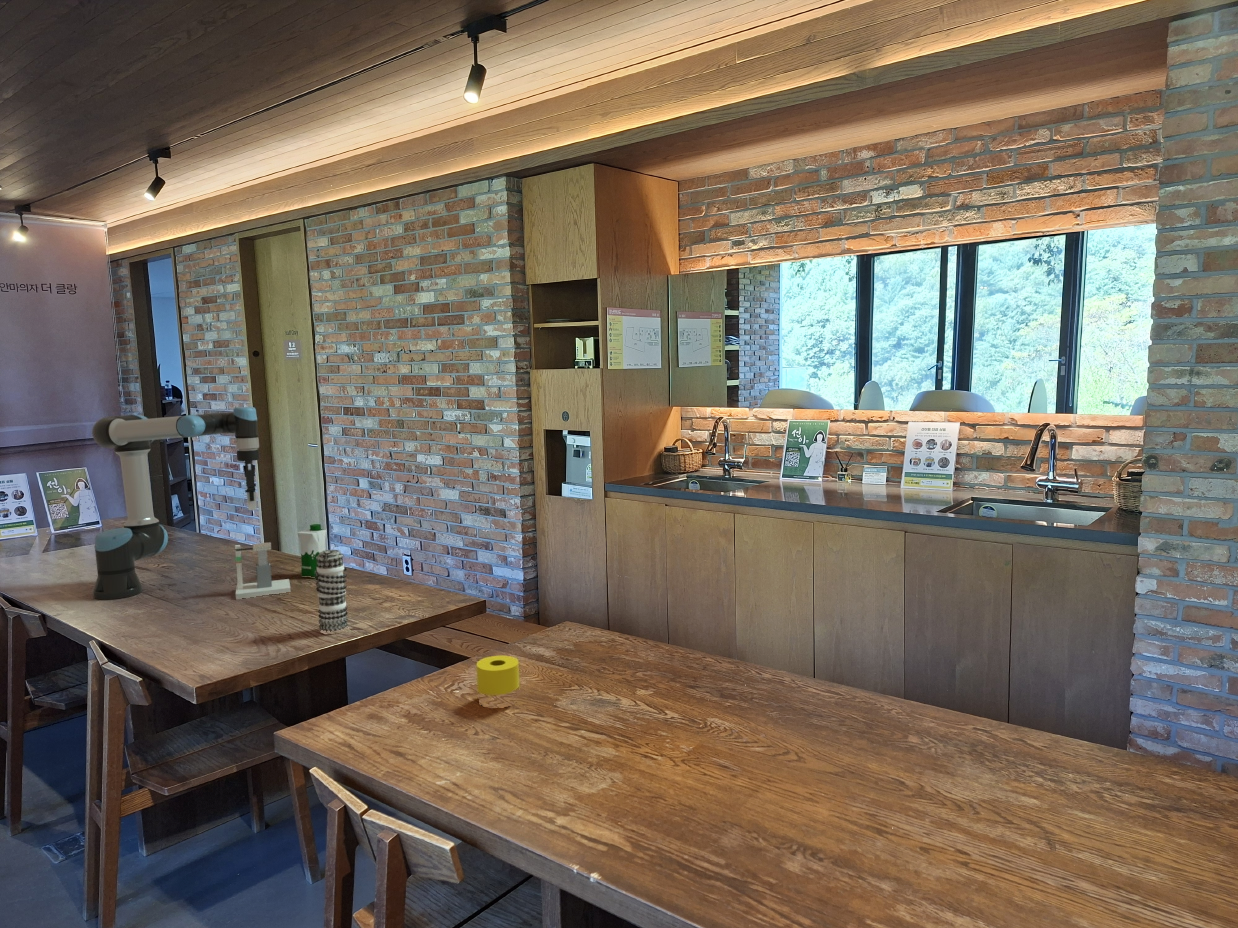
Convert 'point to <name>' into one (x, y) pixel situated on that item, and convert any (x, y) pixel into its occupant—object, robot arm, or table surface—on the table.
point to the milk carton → (311, 548)
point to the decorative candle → (331, 590)
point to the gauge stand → (258, 581)
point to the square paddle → (260, 552)
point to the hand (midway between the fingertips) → (252, 507)
